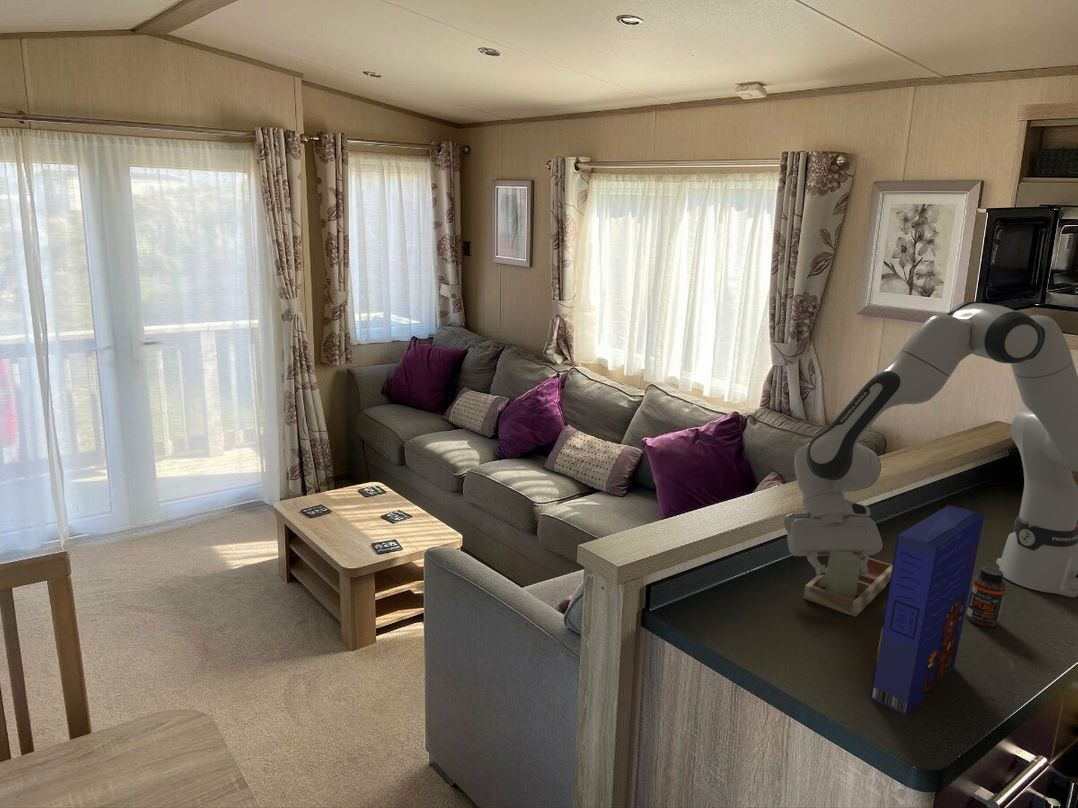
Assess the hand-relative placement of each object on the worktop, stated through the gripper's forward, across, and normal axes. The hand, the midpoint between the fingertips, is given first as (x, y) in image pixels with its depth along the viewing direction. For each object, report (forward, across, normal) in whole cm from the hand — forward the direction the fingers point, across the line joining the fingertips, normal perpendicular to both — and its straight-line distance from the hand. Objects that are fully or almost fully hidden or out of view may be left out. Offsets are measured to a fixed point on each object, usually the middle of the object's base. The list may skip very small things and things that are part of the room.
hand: (842, 574), depth 169 cm
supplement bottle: (+12, +26, -3) cm, 28 cm away
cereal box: (+26, -2, -17) cm, 31 cm away
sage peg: (+4, 0, +4) cm, 6 cm away
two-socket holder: (+1, +5, +8) cm, 9 cm away
